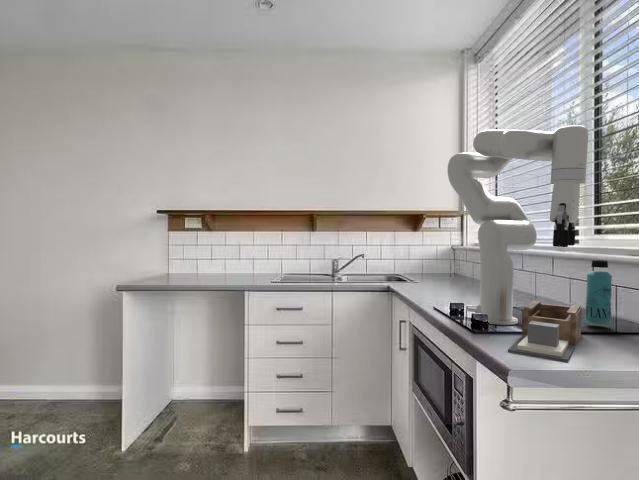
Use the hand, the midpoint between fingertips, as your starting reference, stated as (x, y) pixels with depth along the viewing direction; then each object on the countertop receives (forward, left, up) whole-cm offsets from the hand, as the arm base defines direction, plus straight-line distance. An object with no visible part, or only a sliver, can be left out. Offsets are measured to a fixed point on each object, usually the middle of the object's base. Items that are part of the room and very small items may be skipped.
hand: (563, 246), depth 105 cm
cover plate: (-3, -10, -24) cm, 26 cm away
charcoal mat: (-3, -10, -25) cm, 27 cm away
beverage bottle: (+6, +29, -25) cm, 38 cm away
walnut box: (-3, +6, -25) cm, 25 cm away
